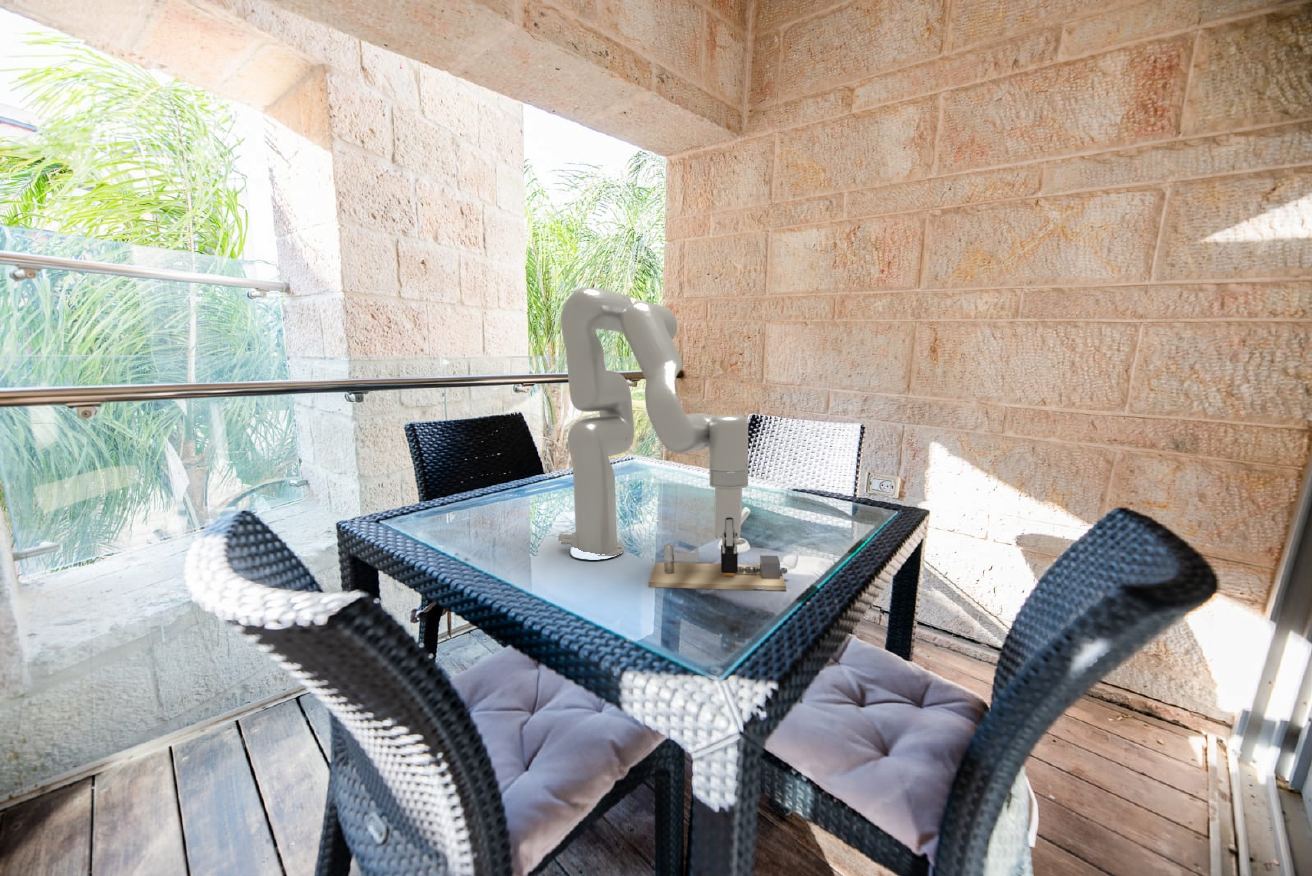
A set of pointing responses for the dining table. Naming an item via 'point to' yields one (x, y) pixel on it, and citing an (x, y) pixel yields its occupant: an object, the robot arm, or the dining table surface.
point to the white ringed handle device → (743, 543)
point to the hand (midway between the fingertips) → (729, 567)
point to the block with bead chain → (753, 570)
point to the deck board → (711, 578)
